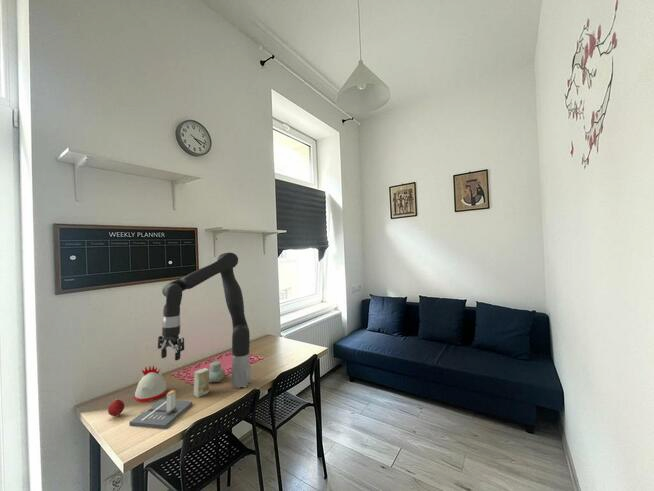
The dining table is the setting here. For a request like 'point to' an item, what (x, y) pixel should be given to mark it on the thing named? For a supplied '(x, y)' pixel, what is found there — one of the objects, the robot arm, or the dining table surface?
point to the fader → (170, 402)
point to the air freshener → (216, 372)
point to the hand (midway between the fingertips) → (170, 358)
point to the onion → (116, 408)
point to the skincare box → (201, 382)
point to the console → (160, 415)
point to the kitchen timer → (150, 386)
